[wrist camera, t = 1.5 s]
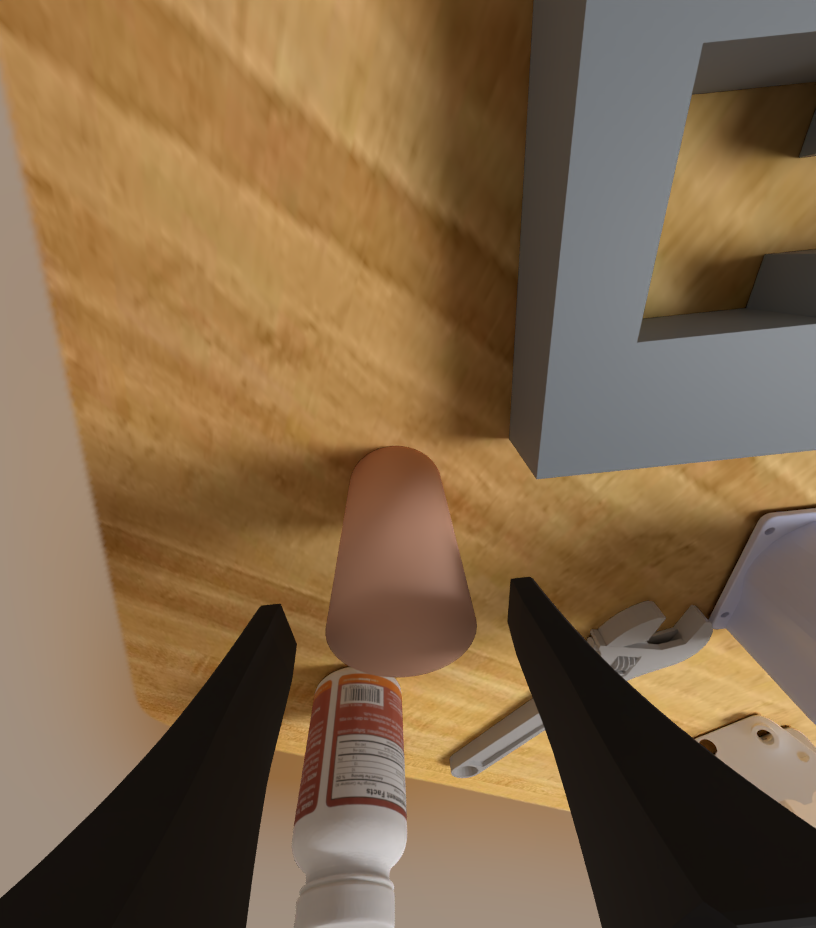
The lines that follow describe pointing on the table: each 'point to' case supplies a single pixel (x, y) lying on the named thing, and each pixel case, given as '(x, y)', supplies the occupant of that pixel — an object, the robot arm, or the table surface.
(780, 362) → the mount board
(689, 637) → the adjustable wrench
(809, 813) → the milk
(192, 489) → the table surface
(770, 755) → the mounting bracket
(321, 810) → the pill bottle
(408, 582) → the peg
